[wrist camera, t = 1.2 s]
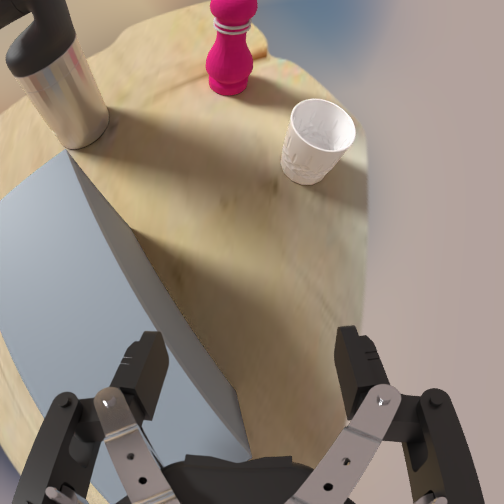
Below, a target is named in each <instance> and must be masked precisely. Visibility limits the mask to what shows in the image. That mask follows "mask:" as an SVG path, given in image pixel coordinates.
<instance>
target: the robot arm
mask: <svg viewBox="0 0 504 504" xmlns="http://www.w3.org/2000/svg"><path fill="white" fill-rule="evenodd" d="M30 12H32V14H33V16H34V21H33V22H32V23H31V24H30V25H29V26H28V27H27V28H26V29H25V30H24V31H23V32H22V33H21V34H20V35H19V36H18V37H17V38H16V39H15V41H14V42H13V43H12V45H11V46H10V48H9V50H8V52H7V54H6V63H7V66H8V68H9V69H10V71H11V72H12V74H13V75H14V77H15V78H16V80H17V82H18V83H19V85H20V86H21V88H22V89H23V90H24V92H25V93H26V95H27V96H28V98H29V99H30V101H31V102H32V104H33V105H34V106H35V108H36V109H37V111H38V112H39V114H40V115H41V116H42V118H43V119H44V121H45V122H46V123H47V125H48V126H49V127H50V129H51V130H52V132H53V133H54V134H55V136H56V137H57V138H58V140H59V141H60V142H61V144H62V145H63V146H64V147H66V148H69V149H79V148H83V147H85V146H87V145H89V144H91V143H92V142H94V141H95V140H96V139H98V138H99V137H100V136H101V135H102V133H103V132H104V131H105V129H106V127H107V125H108V122H109V112H108V110H107V107H106V105H105V103H104V101H103V98H102V96H101V93H100V91H99V89H98V86H97V84H96V82H95V79H94V77H93V75H92V72H91V70H90V67H89V65H88V62H87V60H86V57H85V55H84V52H83V50H82V48H81V45H80V43H79V40H78V37H77V35H76V32H75V29H74V27H73V24H72V21H71V17H70V14H69V10H68V7H67V4H66V1H65V0H0V29H1V28H3V27H5V26H6V25H8V24H10V23H11V22H13V21H15V20H17V19H19V18H21V17H22V16H24V15H26V14H28V13H30ZM334 361H335V366H336V370H337V375H338V379H339V383H340V388H341V392H342V396H343V401H344V405H345V410H346V415H347V419H348V420H351V422H350V423H349V425H348V426H347V427H345V428H344V429H343V430H342V432H341V433H340V434H339V436H338V437H337V439H336V440H335V442H334V443H333V445H332V446H331V448H330V449H329V450H328V452H327V453H326V454H325V456H324V457H323V459H322V460H321V461H320V463H319V464H318V465H317V467H316V468H315V469H312V468H310V467H308V466H306V465H303V464H299V463H294V462H292V456H283V457H264V458H259V459H255V460H250V461H246V462H241V463H235V462H231V461H227V460H223V459H219V458H216V457H212V456H202V455H190V454H186V456H185V461H179V462H175V463H172V464H170V465H167V466H164V464H163V463H162V461H161V460H160V458H159V457H158V455H157V453H156V451H155V450H154V448H153V446H152V444H151V442H150V440H149V439H148V437H147V435H146V433H145V431H144V429H143V427H142V424H143V421H144V420H148V421H152V420H153V416H154V413H155V409H156V406H157V403H158V400H159V396H160V393H161V390H162V386H163V383H164V380H165V377H166V374H167V371H168V367H169V355H168V352H167V349H166V346H165V342H164V339H163V336H162V333H161V332H160V331H144V332H143V334H142V336H141V338H140V341H134V342H133V343H132V344H131V345H130V346H129V347H128V348H127V350H126V352H125V354H124V358H122V360H121V362H120V363H121V364H120V365H119V367H118V369H117V371H116V373H115V375H114V377H113V380H112V382H111V384H110V386H109V387H107V388H104V389H102V390H100V391H99V392H98V393H97V394H96V395H95V397H94V398H86V399H78V398H77V396H76V395H75V394H74V393H72V392H62V393H60V394H58V395H57V396H56V397H55V398H54V400H53V401H52V404H51V406H50V408H49V410H48V412H47V414H46V416H45V419H44V421H43V423H42V425H41V428H40V430H39V432H38V434H37V437H36V439H35V442H34V444H33V446H32V449H31V451H30V454H29V456H28V459H27V461H26V464H25V467H24V469H23V472H22V475H21V478H20V480H19V483H18V486H17V489H16V492H15V495H14V498H13V501H12V504H89V503H88V501H87V500H86V496H87V492H88V488H89V484H90V480H91V477H92V473H93V469H94V466H95V462H96V459H97V455H98V452H99V448H100V445H101V442H102V441H104V442H105V445H106V448H107V450H108V453H109V455H110V458H111V460H112V462H113V465H114V467H115V469H116V472H117V474H118V476H119V478H120V480H121V483H122V485H123V487H124V489H125V491H126V493H127V495H126V496H125V497H124V498H122V499H121V500H120V501H118V502H117V503H115V504H355V503H354V502H353V501H352V500H350V499H349V498H348V496H349V495H350V493H351V492H352V490H353V489H354V487H355V486H356V484H357V482H358V481H359V479H360V478H361V476H362V475H363V473H364V471H365V470H366V468H367V466H368V465H369V463H370V461H371V459H372V458H373V456H374V454H375V452H376V450H377V449H378V447H379V445H380V443H381V441H394V442H402V447H403V451H404V456H405V461H406V465H407V470H408V475H409V481H410V486H411V492H412V497H413V503H414V504H485V503H484V499H483V495H482V491H481V487H480V483H479V480H478V476H477V473H476V469H475V467H474V463H473V460H472V457H471V453H470V451H469V447H468V444H467V442H466V439H465V436H464V433H463V430H462V428H461V425H460V423H459V420H458V417H457V414H456V412H455V409H454V407H453V404H452V402H451V399H450V397H449V395H448V394H447V393H446V392H444V391H443V390H440V389H435V388H433V389H429V390H426V391H425V392H424V393H423V394H422V396H409V395H403V394H400V393H399V391H398V390H397V389H396V388H395V387H393V386H391V385H390V383H389V381H388V378H387V375H386V373H385V370H384V368H383V365H382V362H381V360H380V358H379V355H378V353H377V350H376V347H375V345H374V343H373V341H372V340H370V339H369V338H368V337H367V336H366V335H365V336H359V335H358V332H357V329H356V327H355V326H354V325H352V326H341V327H338V329H337V336H336V343H335V350H334Z"/></svg>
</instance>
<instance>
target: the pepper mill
mask: <svg viewBox="0 0 504 504" xmlns="http://www.w3.org/2000/svg"><path fill="white" fill-rule="evenodd" d="M210 9H211V13H212V14H213V15H214V16H215V17H214V25H213V26H214V28H215V29H216V30H217V38H216V41H215V43H214V45H213V47H212V48H211V50H210V51H209V53H208V56H207V59H206V70H207V72H208V74H209V85H210V88H211V89H212V90H213V91H215V92H216V93H218V94H221V95H228V96H229V95H235V94H239V93H241V92H242V91H243V90H245V88H246V87H247V83H248V76H249V75H250V73H251V72H252V69H253V59H252V55H251V53H250V51H249V49H248V47H247V44H246V33H247V31H248V30H249V29H250V28H251V22H252V20H251V18H252V17H253V16H254V15H255V13H256V11H257V0H211V3H210Z"/></svg>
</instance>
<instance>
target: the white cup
mask: <svg viewBox="0 0 504 504" xmlns="http://www.w3.org/2000/svg"><path fill="white" fill-rule="evenodd" d="M355 137H356V129H355V125H354V123H353V121H352V119H351V118H350V116H349V115H348V114H347V113H346V112H345V111H344V110H343V109H342V108H341V107H339V106H338V105H336V104H334V103H332V102H329V101H326V100H322V99H307V100H304V101H302V102H300V103H298V104H297V105H296V106H295V107H294V108H293V110H292V113H291V117H290V121H289V124H288V128H287V132H286V135H285V139H284V144H283V151H282V155H281V162H280V164H281V167H282V169H283V172H284V173H285V174H286V175H287V176H288V177H289V178H290V179H291V180H292V181H294V182H296V183H299V184H301V185H313V184H315V183H317V182H319V181H321V180H322V179H323V177H324V176H325V175H326V174H327V173H328V172H329V171H330V170H331V169H332V168H333V167H334V166H335V165H336V163H337V162H338V161H339V160H340V159H341V157H342V156H343V155H344V154H345V152H346V151H347V150H348V149H349V148H350V146H351V145H352V144H353V142H354V140H355Z"/></svg>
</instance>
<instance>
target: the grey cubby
mask: <svg viewBox="0 0 504 504" xmlns="http://www.w3.org/2000/svg"><path fill="white" fill-rule="evenodd" d="M0 331H1V333H2V336H3V338H4V341H5V343H6V346H7V348H8V350H9V352H10V355H11V357H12V359H13V361H14V363H15V366H16V368H17V370H18V372H19V374H20V376H21V378H22V380H23V382H24V384H25V386H26V387H27V389H28V391H29V393H30V395H31V397H32V398H33V400H34V402H35V404H36V405H37V407H38V409H39V411H40V412H41V414H42V416H43V417H44V419H45V416H46V414H47V412H48V410H49V408H50V406H51V404H52V401H53V400H54V398H55V397H56V396H57V395H58V394H60V393H62V392H72V393H74V394H75V395H76V396H77V398H78V399H86V398H94V397H95V395H96V394H97V393H98V392H99V391H100V390H102V389H104V388H107V387H109V386H110V384H111V382H112V380H113V377H114V375H115V373H116V371H117V369H118V367H119V365H120V364H121V363H120V362H121V360H122V358H124V354H125V352H126V350H127V348H128V347H129V346H130V345H131V344H132V343H133V342H134V341H140V338H141V336H142V334H143V332H144V331H160V332H161V333H162V336H163V339H164V342H165V346H166V349H167V352H168V355H169V367H168V371H167V374H166V377H165V380H164V383H163V386H162V390H161V393H160V396H159V400H158V403H157V406H156V409H155V413H154V416H153V420H152V421H148V420H144V421H143V424H142V427H143V429H144V431H145V433H146V435H147V437H148V439H149V440H150V442H151V444H152V446H153V448H154V450H155V451H156V453H157V455H158V457H159V458H160V460H161V461H162V463H163V464H164V466H167V465H170V464H172V463H175V462H179V461H185V456H186V454H190V455H202V456H212V457H216V458H219V459H223V460H227V461H231V462H235V463H241V462H246V461H248V460H249V459H251V458H252V455H251V451H250V447H249V443H248V439H247V435H246V431H245V427H244V423H243V419H242V415H241V411H240V407H239V402H238V398H237V394H236V391H235V390H234V389H233V387H232V386H231V385H230V383H229V382H228V380H227V379H226V378H225V376H224V375H223V374H222V372H221V371H220V369H219V368H218V367H217V365H216V364H215V362H214V361H213V360H212V358H211V357H210V355H209V354H208V352H207V351H206V350H205V348H204V347H203V345H202V344H201V342H200V341H199V339H198V338H197V336H196V335H195V333H194V332H193V331H192V329H191V327H190V326H189V324H188V323H187V321H186V320H185V318H184V317H183V315H182V314H181V312H180V311H179V309H178V308H177V306H176V304H175V303H174V301H173V300H172V298H171V296H170V295H169V293H168V292H167V290H166V288H165V287H164V285H163V284H162V282H161V280H160V279H159V277H158V275H157V274H156V272H155V270H154V269H153V267H152V265H151V264H150V262H149V260H148V258H147V257H146V255H145V253H144V251H143V250H142V248H141V246H140V244H139V243H138V241H137V239H136V237H135V236H134V234H133V232H132V230H131V228H130V227H129V226H128V224H127V223H126V222H125V221H124V220H123V219H122V218H121V216H120V215H119V214H118V213H117V212H116V211H115V209H114V208H113V207H112V206H111V205H110V203H109V202H108V201H107V200H106V199H105V197H104V196H103V195H102V194H101V193H100V191H99V190H98V189H97V188H96V187H95V185H94V184H93V183H92V182H91V180H90V179H89V178H88V177H87V176H86V174H85V173H84V172H83V171H82V169H81V168H80V167H79V165H78V164H77V163H76V162H75V160H74V159H73V158H72V156H71V155H70V154H69V153H68V151H67V150H66V149H65V150H63V151H62V152H60V153H59V154H58V155H56V156H55V157H53V158H52V159H51V160H49V161H48V162H47V163H45V164H44V165H43V166H41V167H40V168H39V169H37V170H36V171H35V172H34V173H32V174H31V175H30V176H29V177H27V178H26V179H25V180H24V181H22V182H21V183H20V184H19V185H18V186H16V187H15V188H14V189H13V190H12V191H10V192H9V193H8V194H7V195H6V196H5V197H4V198H3V199H1V200H0ZM90 482H91V483H92V485H93V486H94V487H95V488H96V489H97V490H98V491H99V493H100V494H101V495H102V496H103V497H104V498H105V499H106V500H107V501H108V502H109V503H110V504H115V503H117V502H118V501H120V500H121V499H122V498H124V497H125V496H126V495H127V493H126V491H125V489H124V487H123V485H122V483H121V480H120V478H119V476H118V474H117V472H116V469H115V467H114V465H113V462H112V460H111V458H110V455H109V453H108V450H107V448H106V445H105V442H104V441H102V442H101V445H100V448H99V452H98V455H97V459H96V462H95V466H94V469H93V473H92V477H91V480H90Z"/></svg>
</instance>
